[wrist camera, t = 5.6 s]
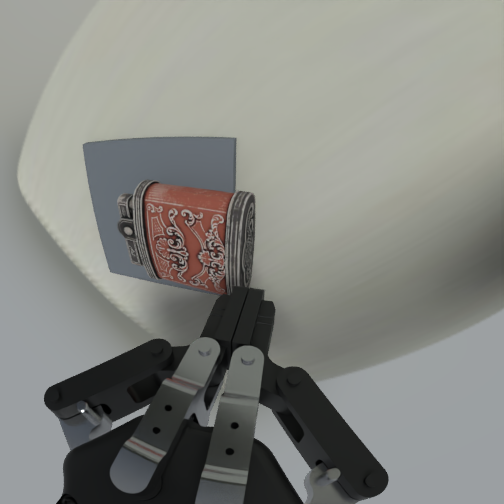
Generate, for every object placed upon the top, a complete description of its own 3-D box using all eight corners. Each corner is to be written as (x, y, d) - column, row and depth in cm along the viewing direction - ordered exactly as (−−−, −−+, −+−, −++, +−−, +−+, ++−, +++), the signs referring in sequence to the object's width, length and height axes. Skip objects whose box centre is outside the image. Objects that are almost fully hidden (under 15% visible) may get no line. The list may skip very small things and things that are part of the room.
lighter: (257, 184, 17) (129, 170, 19) (240, 207, 14) (99, 188, 16) (252, 282, 22) (144, 255, 24) (238, 313, 19) (123, 279, 21)
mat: (236, 137, 17) (233, 139, 16) (235, 293, 24) (233, 297, 23) (87, 142, 19) (82, 144, 18) (113, 268, 26) (110, 272, 25)
